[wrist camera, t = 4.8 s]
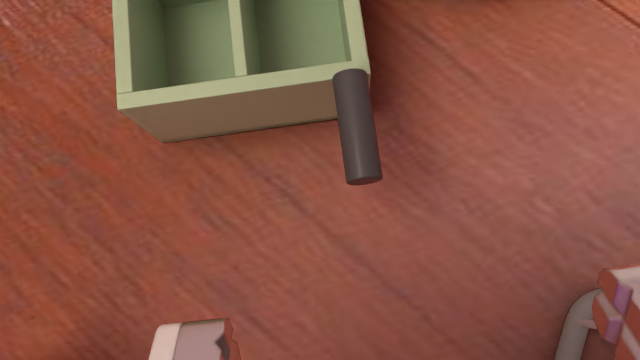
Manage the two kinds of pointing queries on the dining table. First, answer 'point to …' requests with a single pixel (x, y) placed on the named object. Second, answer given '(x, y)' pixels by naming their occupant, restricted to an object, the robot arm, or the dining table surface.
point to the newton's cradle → (576, 328)
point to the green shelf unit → (247, 70)
